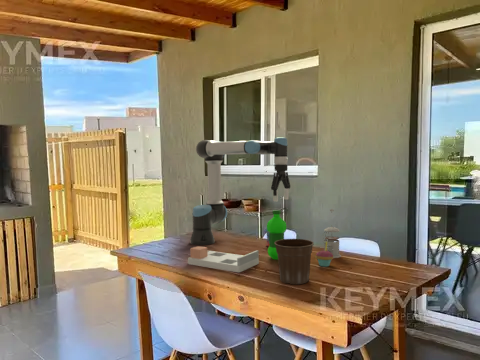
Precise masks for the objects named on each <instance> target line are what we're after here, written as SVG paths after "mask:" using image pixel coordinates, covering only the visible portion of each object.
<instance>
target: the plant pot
mask: <svg viewBox="0 0 480 360" xmlns="http://www.w3.org/2000/svg"><path fill="white" fill-rule="evenodd" d="M274 244H275V245H276V252H277V255H278V260H277V261H278V263H277V264H278V271H279V280H280V282H282V283H285V284H290V285H304V284H307V283H308V282H309V281H310V270H311V258H312V257H311V256H312V253H313V246H314V241H312V240H308V239H304V238H284V239H282V240H278V241H275V242H274Z"/></svg>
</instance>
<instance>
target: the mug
mask: <svg viewBox="0 0 480 360" xmlns="http://www.w3.org/2000/svg"><path fill="white" fill-rule="evenodd" d="M264 231H265V232H266V233H265V234H266V243H265V245H266V247H269V232H268V231H267V227H265V228H264Z"/></svg>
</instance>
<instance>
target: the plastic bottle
mask: <svg viewBox="0 0 480 360" xmlns="http://www.w3.org/2000/svg"><path fill="white" fill-rule="evenodd" d="M272 215H273V217H271V218H270V220H268V221H267V224H266V228H267V231H268V232H269V246H268V248H267V254H268V256H269V257H270V258H271V259H272V260H277V261H278V255H277V252H276V245H275V244H274V242H275V241H278V240H282V239H285V232H286V231H287V223H286V221H285V220H284V219H283V218H282V217H281V209H273V210H272Z"/></svg>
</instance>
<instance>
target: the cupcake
mask: <svg viewBox="0 0 480 360" xmlns="http://www.w3.org/2000/svg"><path fill="white" fill-rule="evenodd" d="M327 242H328V240H327V241H326V247H325V251H324V249H323V250H319V251H317V252H316V254H315V259H317V262H318V265H319V266H320V267H326V268H327V267H329V266H330V265H331V262H332V261H333V259H334V258H333V254H332V253H331V252H329V251H328V250H327V248H328V247H327V246H328V245H327Z"/></svg>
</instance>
